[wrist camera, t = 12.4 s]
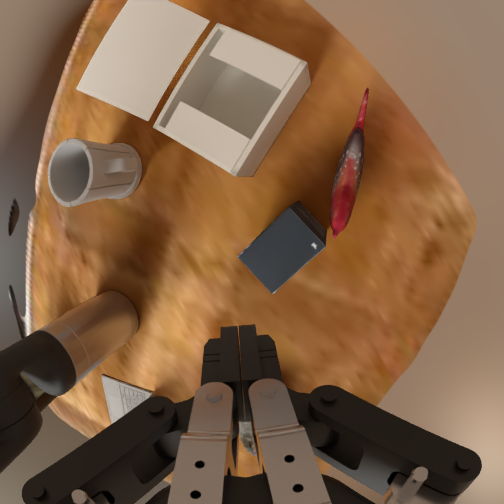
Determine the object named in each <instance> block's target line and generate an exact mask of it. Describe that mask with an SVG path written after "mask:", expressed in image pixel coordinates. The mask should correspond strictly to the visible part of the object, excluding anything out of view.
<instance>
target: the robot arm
mask: <svg viewBox="0 0 504 504" xmlns="http://www.w3.org/2000/svg"><path fill="white" fill-rule="evenodd" d="M138 326H139V320H138V315H137V312H136V309H135V308H134V306H133V304H132V303H131V302H130V300H129V299H128V298H126V297H125V296H124V295H122V294H121V293H119V292H116V291H107V292H104V293H102V294H101V295H99V296H94V297H92V298H91V299H89V300H87V301H85V302H83V303H81V304H80V305H78V306H76V307H74V308H72V309H71V310H69V311H67V312H65V313H64V314H63V315H62V316H61V317H60V318H58V319H56V320H54V321H53V322H51V323H49V324H48V325H46V326H44V327H42V328H41V329H39V330H37V331H35V332H34V333H32V334H30V335H29V336H27V337H25V338H23V339H22V340H20V341H18V342H16V343H15V344H13V345H11V346H10V347H8V348H6V349H4V350H2V351H0V473H1V472H2V471H3V470H4V469H5V468H6V467H7V466H8V465H9V464H10V463H11V462H12V461H13V460H14V459H15V458H16V457H17V456H18V455H19V454H20V453H21V452H22V451H23V450H24V449H25V448H26V447H27V446H28V445H29V444H30V443H31V442H32V440H34V438H35V437H36V436H37V434H38V432H39V431H40V428H41V426H42V416H41V413H40V411H39V409H38V407H37V405H36V403H35V402H34V400H33V398H32V396H31V394H30V393H29V391H28V389H27V387H26V385H25V384H24V382H23V380H22V378H21V376H20V373H21V372H22V373H23V374H25V375H26V376H27V377H28V378H29V379H30V380H31V381H32V382H33V383H35V384H36V385H37V386H38V387H39V388H40V389H41V390H43V391H44V392H46V393H48V394H50V395H54V396H61V395H63V394H65V393H66V392H68V391H69V390H70V389H71V388H72V387H73V386H74V385H76V384H77V383H78V382H79V381H80V380H82V379H83V378H84V377H85V376H86V375H87V374H89V373H90V372H91V371H92V370H93V369H95V368H96V367H97V366H98V365H99V364H101V363H102V362H103V361H104V360H105V359H107V358H108V357H109V356H110V355H111V354H113V353H114V352H115V351H116V350H117V349H119V348H120V347H121V346H122V345H123V344H125V343H126V342H127V341H128V340H129V339H131V338H132V337H133V336H134V335H135V334H136V332H137V330H138ZM239 339H240V349H239ZM203 355H204V356H203V365H202V377H201V387H200V388H198V390H197V391H196V393H195V396H194V397H192V398H191V399H189V400H186V401H183V402H179V403H175V404H174V403H173V402H172V401H171V400H170V399H168V398H166V397H162V396H155V397H151V398H148V399H146V400H145V401H143V402H142V403H140V404H139V405H138V406H136V407H135V408H133V409H132V410H131V411H129V412H128V413H127V414H125V415H124V416H122V417H121V418H120V419H118V420H117V421H115V422H114V423H113V424H111V425H110V426H108V427H107V428H106V429H104V430H103V431H101V432H100V433H98V434H97V435H96V436H94V437H93V438H91V439H90V440H88V441H87V442H85V443H84V444H83V445H81V446H80V447H78V448H77V449H75V450H74V451H72V452H71V453H69V454H68V455H66V456H65V457H63V458H62V459H60V460H59V461H57V462H56V463H54V464H53V465H51V466H50V467H48V468H47V469H45V470H43V471H42V472H41V473H39V474H37V475H36V476H34V477H33V478H31V479H29V480H28V481H27V482H26V483H25V485H24V486H23V489H22V498H23V501H24V502H25V503H26V504H134V503H135V502H137V500H139V499H140V498H141V497H143V496H144V495H145V494H146V493H148V492H149V491H150V490H151V489H152V488H154V487H155V486H156V485H157V484H158V483H159V482H161V481H162V480H163V479H164V478H165V477H166V476H168V475H169V474H170V473H171V472H172V471H173V470H174V473H173V478H172V483H171V485H169V486H167V487H166V488H164V489H162V490H161V491H159V492H158V493H157V494H156V495H154V496H153V497H152V498H151V499H150V500H149V501H148V502H147V503H145V504H375V503H373V502H372V501H370V500H368V499H367V498H365V497H364V496H362V495H360V494H359V493H357V492H356V491H354V490H353V489H351V488H349V487H348V486H346V485H345V484H343V483H342V482H340V481H338V480H336V479H334V478H332V477H329V476H327V475H323V474H321V473H320V470H319V467H318V464H317V461H316V458H315V456H314V455H316V456H318V457H319V458H321V459H322V460H324V461H325V462H327V463H328V464H330V465H332V466H333V467H335V468H336V469H338V470H340V471H342V472H343V473H345V474H346V475H348V476H350V477H352V478H353V479H355V480H357V481H358V482H360V483H362V484H363V485H365V486H367V487H369V488H370V489H373V490H374V491H376V492H378V493H379V494H381V495H383V496H384V499H383V502H384V504H454V503H455V501H456V500H457V498H458V497H459V496H460V495H461V494H462V493H463V492H464V491H465V490H466V489H467V488H468V487H469V485H470V484H471V483H472V482H473V481H474V480H475V478H476V477H477V476H478V475H479V473H480V471H481V467H482V464H481V460H480V457H479V456H478V455H477V454H476V453H475V452H474V451H472V450H470V449H468V448H465V447H463V446H460V445H458V444H456V443H453V442H451V441H448V440H447V439H444V438H442V437H440V436H437V435H435V434H433V433H431V432H429V431H426V430H424V429H422V428H420V427H418V426H415V425H413V424H411V423H409V422H407V421H405V420H403V419H401V418H399V417H397V416H395V415H393V414H390V413H388V412H386V411H384V410H382V409H380V408H378V407H376V406H374V405H372V404H370V403H368V402H366V401H364V400H363V399H361V398H359V397H357V396H355V395H353V394H351V393H349V392H347V391H345V390H343V389H341V388H339V387H337V386H333V385H324V386H320V387H317V388H315V389H314V390H313V391H312V392H311V393H310V394H308V393H300V392H295V391H293V390H291V389H289V388H288V387H287V386H286V385H285V384H284V382H283V380H282V375H281V370H280V365H279V361H278V357H277V351H276V346H275V342H274V340H273V339H272V338H271V337H270V336H269V335H258V336H257V334H256V327H255V325H242V326H239V338H238V328H237V326H228V327H221V337H220V338H217V339H209V340H208V342H207V343H206V345H205V346H204V354H203ZM240 356H241V360H240ZM241 372H242V375H241ZM242 385H243V391H242ZM243 395H244V405H245V414H246V421H251V426H252V436H253V442H254V447H255V452H256V457H257V462H258V467H259V472H260V474H258V475H255V476H251V477H246V478H245V477H237V470H238V449H239V431H240V428H239V422H243V421H244V406H243Z"/></svg>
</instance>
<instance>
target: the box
mask: <svg viewBox="0 0 504 504" xmlns="http://www.w3.org/2000/svg"><path fill="white" fill-rule="evenodd" d="M326 234H327V231H326V230H325V228H324V227H323V226H322V225H321V224H320V223H319V222H318V221H317V220H316V219H315V218H314V217H313V215H312V214H311V213H310V212H309V211H308V210H307V209H306V208H305V207H304V206H303V205H302V204H301V202H300V201H297V202H296V203H294V204H293V205H291V206H290V207H288V208H287V209H286V210H285V211H284V212H283V213H282V214H281V215H280V216H279V217H278V218H277V219H276V220H275V221H273V222H272V223H271V224H270V225H269V226H268V227H267V228H266V229H265V230H264V231H263V232H262V233H261V234H260V235H259V236H258V237H257V238H256V239H255V240H254V241H253V242H252V243H251V244H250V245H249V246H248V247H247V248H246V249H245V250H244V251H242V252H241V253H240V254H239V255H238V258H239V259H240V260H241V261H242V262H243V263H244V264H245V265H246V266H247V267H248V269H249V270H250V271H251V272H252V273H253V274H254V275H255V276H256V277H257V278H258V279H259V280H260V281H261V282H262V283H263V285H264V286H265V287H266V288H267V289H268V290H269V291H270V292H271V293H273V294H274V293H275V292H276V291H277V290H278V289H279V288H280V287H281V286H282V285H283V284H284V283H285V282H287V281H288V280H289V279H290V278H291V277H292V276H293V275H294V274H295V273H296V272H298V271H299V270H300V269H301V268H302V267H303V266H304V265H306V264H307V263H308V262H309V261H310V260H311V259H312V258H314V257H315V256H316V255H317V254H318V253H319V252H321V251H322V250H323V249H324V248H325V247H326Z"/></svg>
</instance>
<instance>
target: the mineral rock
mask: <svg viewBox="0 0 504 504" xmlns="http://www.w3.org/2000/svg"><path fill="white" fill-rule="evenodd" d="M242 391H243V386H242ZM243 406H244V421H243V422H239V428H240V437H241V441H242V443H243V445H244V447H245V449H246V450H247V452H250V453H251V454H252V455H254V456H256V452H255V447H254V442H253V436H252V426H251V421H246V414H245V405H244V395H243Z"/></svg>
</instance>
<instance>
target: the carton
mask: <svg viewBox="0 0 504 504" xmlns="http://www.w3.org/2000/svg"><path fill="white" fill-rule="evenodd" d="M310 85H311V80H310V74H309V69H308V63H307V62H305V61H303V60H301V59H299V58H297V57H295V56H293V55H291V54H289V53H287V52H285V51H283V50H281V49H279V48H277V47H275V46H273V45H270V44H268V43H266V42H264V41H261V40H259V39H257V38H255V37H252V36H250V35H247V34H245V33H243V32H240V31H238V30H235V29H233V28H230V27H227V26H225V25H222V24H219V23H217V24H216V25H215V27H214V28H213V29H212V31H211V32H210V34H209V35H208V37H207V38H206V40H205V41H204V42H203V44H202V45H201V47H200V48H199V50H198V51H197V53H196V55H195V56H194V58H193V59H192V61H191V62H190V64H189V65H188V67H187V69H186V70H185V72H184V73H183V75H182V77H181V78H180V80H179V82H178V83H177V85H176V87H175V88H174V90H173V92H172V93H171V95H170V97H169V99H168V100H167V102H166V104H165V106H164V107H163V109H162V111H161V113H160V115H159V116H158V118H157V120H156V122H155V124H154V126H153V128H155V129H157V130H158V131H160V132H162V133H164V134H165V135H167V136H169V137H171V138H172V139H174V140H176V141H177V142H179V143H181V144H182V145H184V146H186V147H188V148H189V149H191V150H193V151H194V152H196V153H198V154H199V155H201V156H203V157H204V158H206V159H208V160H209V161H211V162H213V163H214V164H216V165H217V166H219V167H221V168H222V169H224V170H226V171H227V172H229V173H230V174H232V175H234V176H239V177H253V175H254V173H255V172H256V170H257V168H258V167H259V165H260V164H261V162H262V160H263V159H264V157H265V155H266V154H267V152H268V151H269V149H270V147H271V146H272V144H273V143H274V141H275V139H276V138H277V136H278V135H279V133H280V132H281V130H282V128H283V127H284V125H285V124H286V122H287V121H288V119H289V117H290V116H291V114H292V113H293V111H294V110H295V108H296V106H297V105H298V103H299V102H300V100H301V99H302V97H303V96H304V94H305V93H306V91H307V90H308V88H309V86H310Z"/></svg>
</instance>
